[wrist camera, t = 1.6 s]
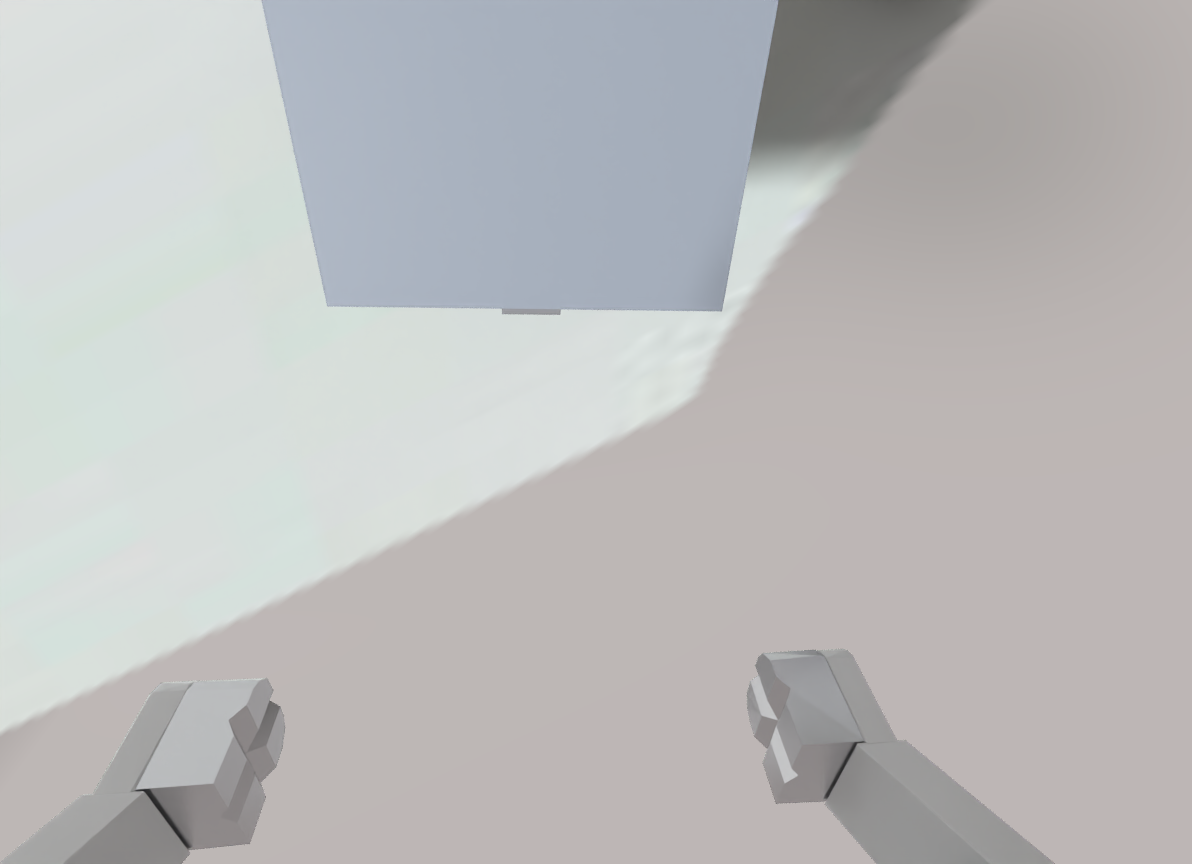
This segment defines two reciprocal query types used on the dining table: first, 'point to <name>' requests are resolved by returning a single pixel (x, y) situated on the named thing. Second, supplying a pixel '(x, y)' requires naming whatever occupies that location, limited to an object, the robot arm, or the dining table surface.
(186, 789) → the robot arm
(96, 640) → the dining table surface
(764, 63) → the mounted unit
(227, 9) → the dining table surface
